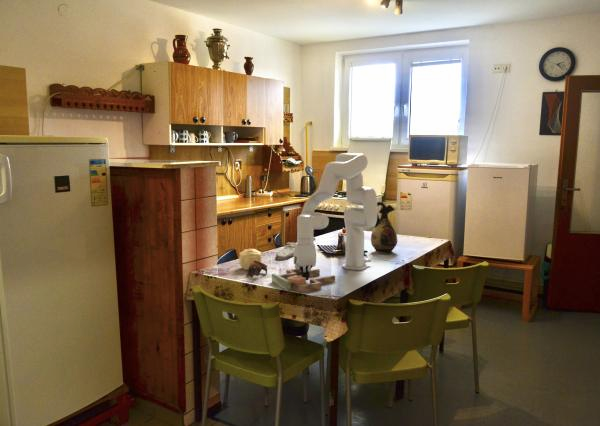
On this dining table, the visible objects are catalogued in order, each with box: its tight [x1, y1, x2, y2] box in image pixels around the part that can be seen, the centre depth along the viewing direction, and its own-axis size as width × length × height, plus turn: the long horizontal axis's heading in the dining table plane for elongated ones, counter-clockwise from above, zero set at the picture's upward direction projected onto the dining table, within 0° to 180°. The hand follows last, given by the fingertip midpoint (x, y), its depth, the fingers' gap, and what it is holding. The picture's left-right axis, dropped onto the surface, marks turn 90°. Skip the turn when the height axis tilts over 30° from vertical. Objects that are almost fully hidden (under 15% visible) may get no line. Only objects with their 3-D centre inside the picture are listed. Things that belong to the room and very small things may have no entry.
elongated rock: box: [275, 241, 297, 261], centre depth 289 cm, size 35×5×10 cm
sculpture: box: [238, 248, 263, 271], centre depth 254 cm, size 12×12×11 cm
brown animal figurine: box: [246, 261, 268, 278], centre depth 242 cm, size 12×10×8 cm
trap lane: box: [271, 268, 336, 294], centre depth 230 cm, size 26×27×4 cm
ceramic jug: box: [370, 201, 398, 255], centre depth 289 cm, size 17×15×30 cm
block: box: [287, 275, 307, 285], centre depth 224 cm, size 6×6×4 cm
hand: (305, 279), depth 231 cm, fingers closed
